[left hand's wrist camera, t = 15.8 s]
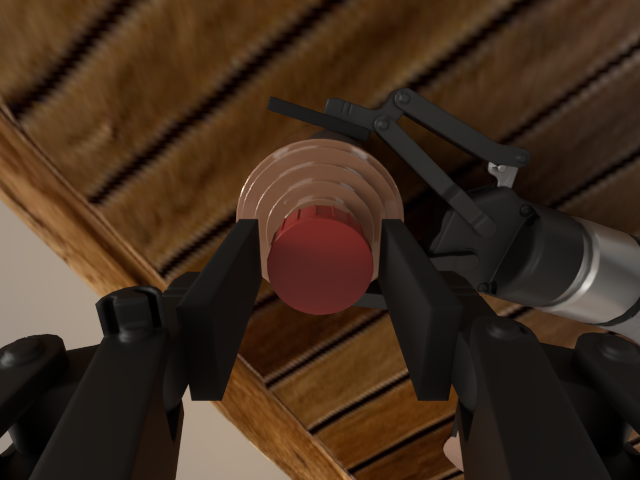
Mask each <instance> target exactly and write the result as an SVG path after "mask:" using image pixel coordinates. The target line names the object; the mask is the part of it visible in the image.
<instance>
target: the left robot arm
mask: <svg viewBox="0 0 640 480" xmlns="http://www.w3.org/2000/svg"><path fill="white" fill-rule="evenodd" d="M261 282H262V268H261V253H260V238H259V223H258V219H239V220H238V221H237V223H236V224H235V226H234V227H233V228H232V230H231V231H230V233H229V234H228V235H227V237H226V238H225V240H224V241H223V242H222V244H221V245H220V246H219V248H218V249H217V251H216V252H215V253H214V255H213V256H212V258H211V259H210V260H209V262H208V263H207V264H206V266H205V267H204V269H203V270H202V271H201V272H186V273H184V274H183V275H181V276H179V277H178V278H176V279H174V280H173V282H172V283H171V284H170V285H169V286H168V288H167V290H165V291H164V292H163V294H162V291H161V290H159V289H158V288H157V287H152V286H133V287H127V288H123V289H120V290H117V291H114V292H112V293H110V294H108V295H106V296H104V297H102V298H101V299H100V300H99V301H98V302H97V303H96V304H95V305H96V309H97V312H98V316H99V320H100V323H101V327H102V330H103V334H104V337H103V339H102V341H101V343H100V344H98V345H94V346H88V347H83V348H78V349H73V350H67V351H66V349H65V346H64V342H63V340H62V339H61V338H60V337H59V336H57V335H51V334H43V335H33V336H28V337H27V338H26V337H24V338H21V339H18V340H16V341H15V342H13V343H11V344H8V345H6V346H4V347H2V348H1V349H0V438H1V437H2V436H3V435H4V434H5V433H6V432H7V431H8V432H9V434H10V436H11V438H12V441H13V443H12V444H11V445H10V446H9V447H8V449H7V450H5V451H4V452H3V453H2V454H0V480H175V479H176V471H177V464H178V456H179V449H180V441H181V434H182V426H183V419H184V409H183V403H182V397H183V395H184V392H185V390H186V388H187V386H188V384H189V388H190V394H191V399H192V401H222V398H223V395H224V392H225V389H226V386H227V383H228V380H229V377H230V374H231V371H232V368H233V365H234V362H235V359H236V356H237V353H238V350H239V348H240V345H241V342H242V339H243V336H244V333H245V330H246V327H247V324H248V321H249V318H250V315H251V312H252V309H253V306H254V303H255V300H256V297H257V294H258V291H259V288H260V285H261ZM378 282H379V285H380V288H381V291H382V294H383V297H384V300H385V303H386V306H387V309H388V312H389V315H390V318H391V321H392V324H393V327H394V330H395V333H396V336H397V339H398V342H399V345H400V348H401V351H402V353H403V356H404V359H405V362H406V365H407V368H408V371H409V374H410V377H411V380H412V383H413V386H414V389H415V392H416V395H417V398H418V401H448V399H449V394H450V388H451V382H452V384H453V386H454V389H455V391H456V393H457V395H458V397H459V398H458V403H457V408H456V414H455V419H454V424H453V430H452V437H455V438H456V437H457V432H458V433H459V440H460V448H461V455H462V463H463V470H464V478H465V480H640V453H639V452H638V451H637V450H636V449H635V448H634V447H633V446H632V445H631V444H630V443H629V442H628V439H629V436H630V434H631V432H632V430H633V429H634V430H635V431H636V432H637V433H638V434H639V435H640V346H638V345H636V344H634V343H632V342H630V341H627V340H625V339H624V338H622V337H618V336H613V335H611V334H606V333H605V334H603V333H594V332H592V333H585V334H582V335H581V336H580V337H578V339H577V342H576V346H575V349H571V348H565V347H560V346H555V345H550V344H545V343H541V342H539V341H538V339H537V337H536V335H535V334H534V333H533V332H532V331H531V329H529V328H528V327H526V326H525V325H523V324H522V323H520V322H517V321H515V320H513V319H510V318H506V317H502V316H498V315H497V314H496V313H495V312H494V311H493V310H492V308H491V307H490V306H489V305H488V304H487V303H486V301H485V300H484V299H483V298H482V297H481V296H479V293H478V292H477V291H476V290H475V288H473V286H472V285H471V284H470V283H469V281H468V280H467V279H466V278H465V277H463V276H461V275H459V274H458V273H456V272H454V271H438V270H437V269H436V267H435V266H434V264H433V263H432V262H431V260H430V259H429V258H428V256H427V255H426V253H425V252H424V251H423V249H422V248H421V246H420V245H419V244H418V242H417V241H416V240H415V238H414V237H413V235H412V234H411V233H410V231H409V230H408V228H407V227H406V226H405V224H404V223H403V221H402V220H401V219H382V223H381V238H380V253H379V268H378Z"/></svg>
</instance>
